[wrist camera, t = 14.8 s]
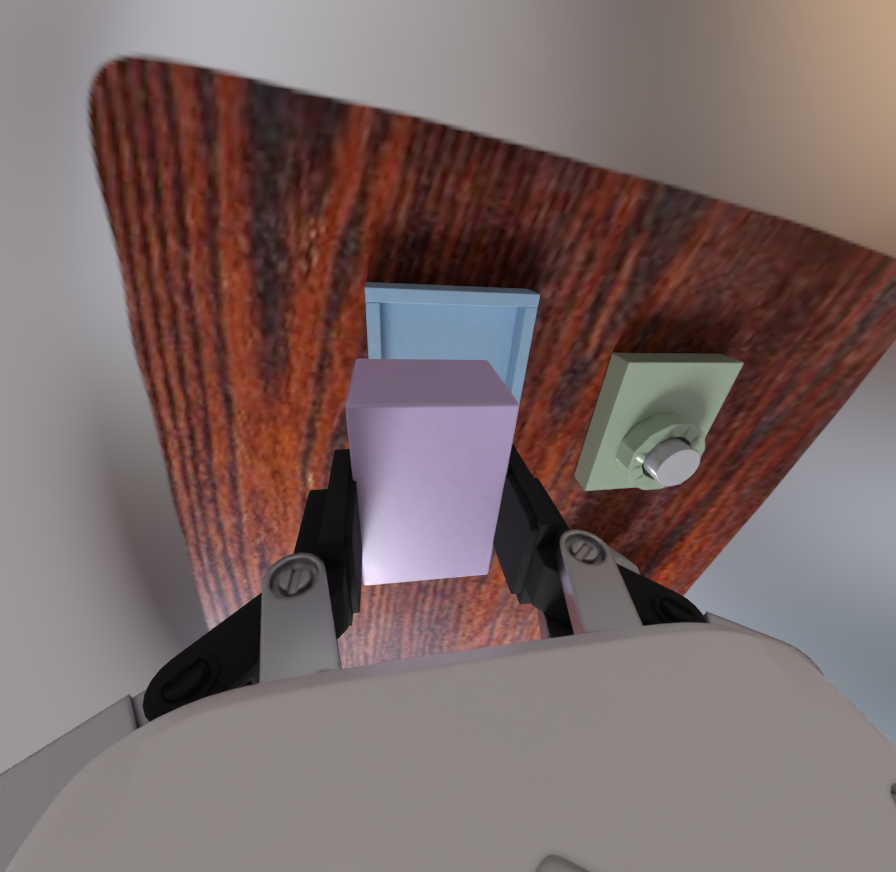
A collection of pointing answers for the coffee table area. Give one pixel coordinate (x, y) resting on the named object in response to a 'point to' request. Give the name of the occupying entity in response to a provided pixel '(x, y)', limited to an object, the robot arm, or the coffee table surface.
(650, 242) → the coffee table surface
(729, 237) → the coffee table surface
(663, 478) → the grey push button
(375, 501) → the soap bar
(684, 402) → the green push button box
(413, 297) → the soap dish
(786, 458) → the coffee table surface
